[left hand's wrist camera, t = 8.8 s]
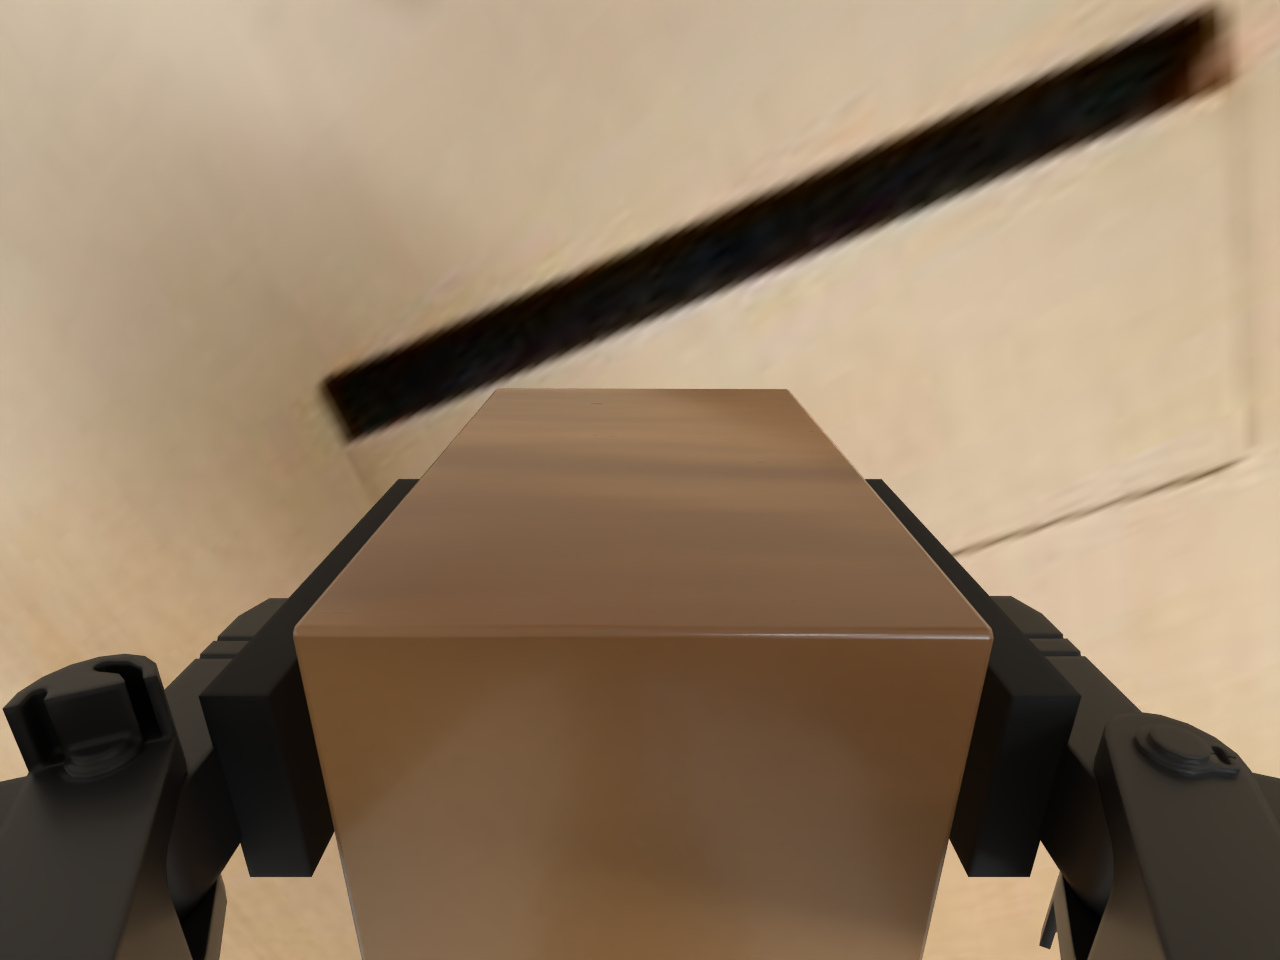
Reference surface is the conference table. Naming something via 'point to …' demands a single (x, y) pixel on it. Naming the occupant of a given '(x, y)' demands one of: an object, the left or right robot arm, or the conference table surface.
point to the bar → (642, 693)
